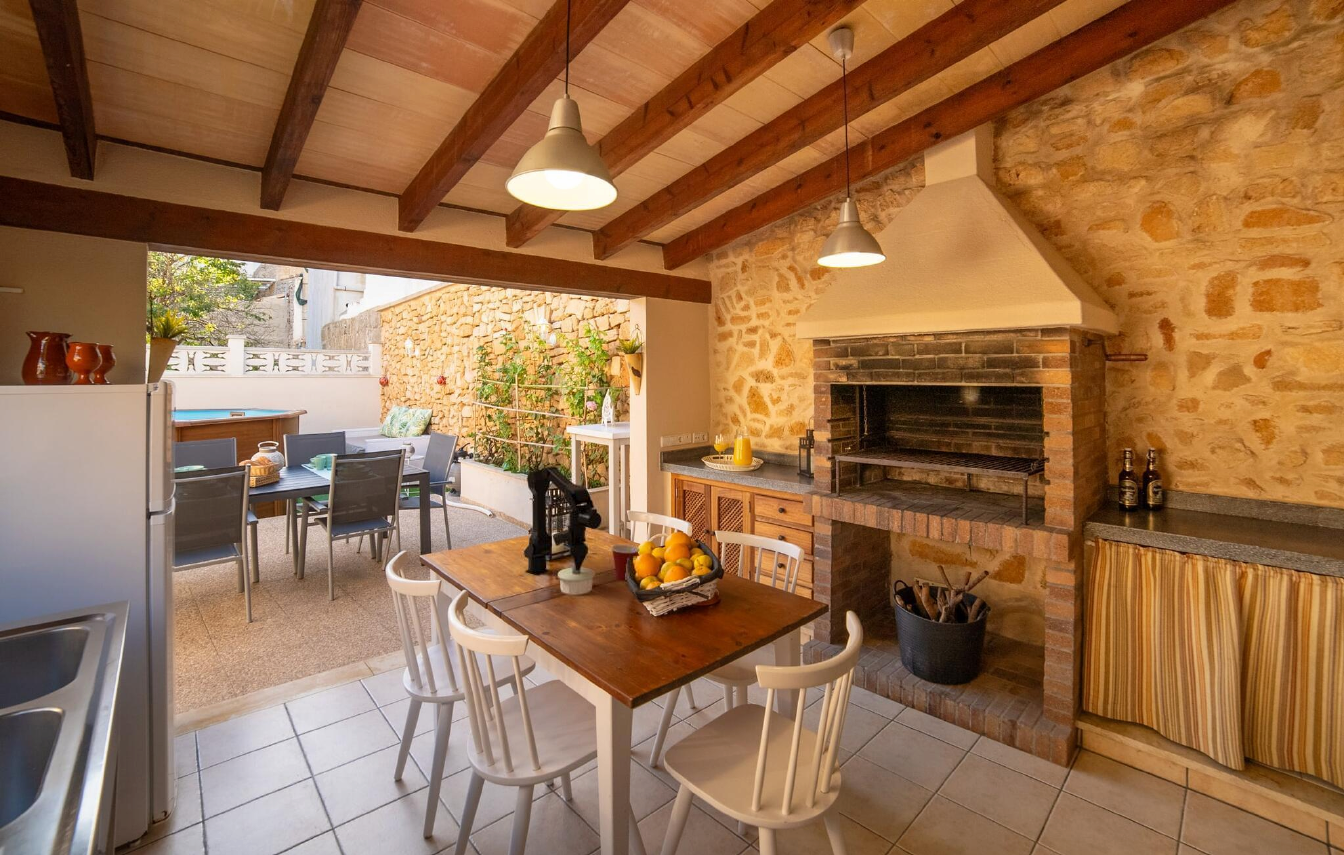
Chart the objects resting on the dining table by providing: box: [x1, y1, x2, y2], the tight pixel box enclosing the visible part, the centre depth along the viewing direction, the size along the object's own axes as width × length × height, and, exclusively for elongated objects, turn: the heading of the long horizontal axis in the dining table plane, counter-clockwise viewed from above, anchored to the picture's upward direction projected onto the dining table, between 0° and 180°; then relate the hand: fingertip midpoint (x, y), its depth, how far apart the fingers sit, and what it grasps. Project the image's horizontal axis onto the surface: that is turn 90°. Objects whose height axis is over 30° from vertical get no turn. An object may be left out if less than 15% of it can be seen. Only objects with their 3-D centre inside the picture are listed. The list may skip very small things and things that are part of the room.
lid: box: [557, 561, 596, 582], centre depth 213 cm, size 13×13×4 cm
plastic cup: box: [611, 544, 640, 582], centre depth 227 cm, size 11×11×12 cm
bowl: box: [559, 578, 593, 596], centre depth 213 cm, size 11×11×5 cm
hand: (576, 566), depth 213 cm, fingers open, 9 cm apart
